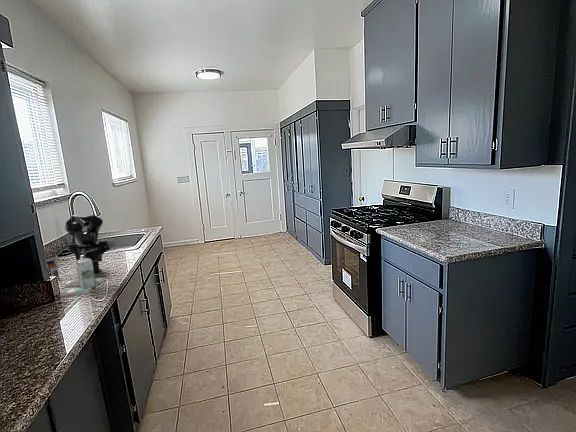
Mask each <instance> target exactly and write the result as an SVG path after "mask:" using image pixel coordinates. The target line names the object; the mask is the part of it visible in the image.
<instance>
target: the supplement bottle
mask: <svg viewBox="0 0 576 432" xmlns="http://www.w3.org/2000/svg"><path fill="white" fill-rule="evenodd" d="M46 260H47V264H48V269H49V272H50V276H57V277H58V279H60V275H59V271H58V265H57V262H55V260H54V258H49V259H46Z"/></svg>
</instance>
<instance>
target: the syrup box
mask: <svg viewBox="0 0 576 432" xmlns="http://www.w3.org/2000/svg"><path fill="white" fill-rule="evenodd" d="M75 266H76V267H75V268H76V271H77V277H78V278H77V279H78V280H79V283H80V285H79V288H87V287H89V288H91V287H94V288H95V287H96V286H97V285H96V282H95V278H96V277H95V274H94V270H93V264H92V260H91V259H89V258H85V259H83V258H80V260H75Z"/></svg>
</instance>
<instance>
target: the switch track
mask: <svg viewBox="0 0 576 432" xmlns="http://www.w3.org/2000/svg"><path fill="white" fill-rule="evenodd" d="M95 282H96V286H98V284H101V283H102V282H103V277H97V278H96V277H95ZM64 285H65V286H64V287H65V288H67V287H75V286H77V287H78V286H80V283H79V279H73V280H69V281H67V282H66V283H65V284H64ZM93 289H95V287H91V288H89V287H87V288H81V287H79V288H74V289H73V288H72V289H70V288H67V289H59V290H60V295H61V296H60V297H65V296H76V295H87V294H89V293H90V292H91V291H92V290H93Z"/></svg>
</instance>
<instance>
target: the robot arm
mask: <svg viewBox="0 0 576 432" xmlns="http://www.w3.org/2000/svg"><path fill="white" fill-rule="evenodd" d="M103 224H104V222H103V219H102V218H101V217H99V216H98V217H97V215H94V214H90V215H82V214H73V215H70V216H69V219H68V220H67V221H66V222H65V227H64V229H65V231H66V232H67V233H68V234H69V235H71V236H73V237H74V238H75V239H76V241H77V242H78V243H70V244H68V248H67V249H68V250H69V251H70V252H71V253H72V254H74V255H75V261H77V260H81V256H82V250H83V256H82V259H85V258H89V259H91V260H92V264H93V270H94V275H97V274H100V273H101V272H102V271H103V269H102V268H101V269H100V264H99V262H102V261H103V255H104V254H105V253H106V252H108V251H110V250H111V244H110V243H109V241H107V240H101V241H99V238H98V237H99V232H100V230H101V228H102V226H103ZM86 227H87V228H86ZM84 228H86V233H85V232H83V229H84Z"/></svg>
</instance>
